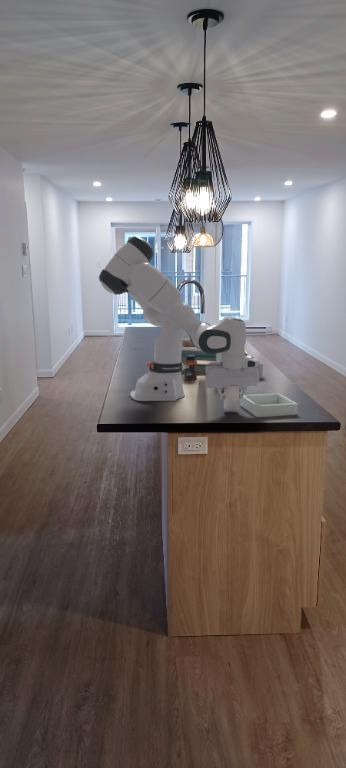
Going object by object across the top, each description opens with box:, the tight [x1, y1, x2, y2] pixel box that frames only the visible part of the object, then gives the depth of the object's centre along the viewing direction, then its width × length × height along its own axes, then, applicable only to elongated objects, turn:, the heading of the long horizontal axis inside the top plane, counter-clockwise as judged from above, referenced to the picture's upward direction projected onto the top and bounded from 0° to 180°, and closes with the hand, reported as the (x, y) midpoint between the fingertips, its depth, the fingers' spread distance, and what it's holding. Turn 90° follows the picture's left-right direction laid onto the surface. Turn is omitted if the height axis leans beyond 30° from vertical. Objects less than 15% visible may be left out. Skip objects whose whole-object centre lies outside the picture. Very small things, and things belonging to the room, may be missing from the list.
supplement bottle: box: [183, 355, 198, 381], centre depth 249 cm, size 6×6×11 cm
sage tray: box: [239, 392, 299, 418], centre depth 200 cm, size 16×16×4 cm
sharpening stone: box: [181, 346, 216, 373], centre depth 268 cm, size 25×8×11 cm, turn 80°
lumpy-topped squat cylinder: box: [249, 357, 264, 380], centre depth 256 cm, size 10×13×9 cm
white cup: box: [223, 385, 241, 411], centre depth 195 cm, size 6×6×9 cm
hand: (231, 398), depth 196 cm, fingers closed on white cup, 6 cm apart
